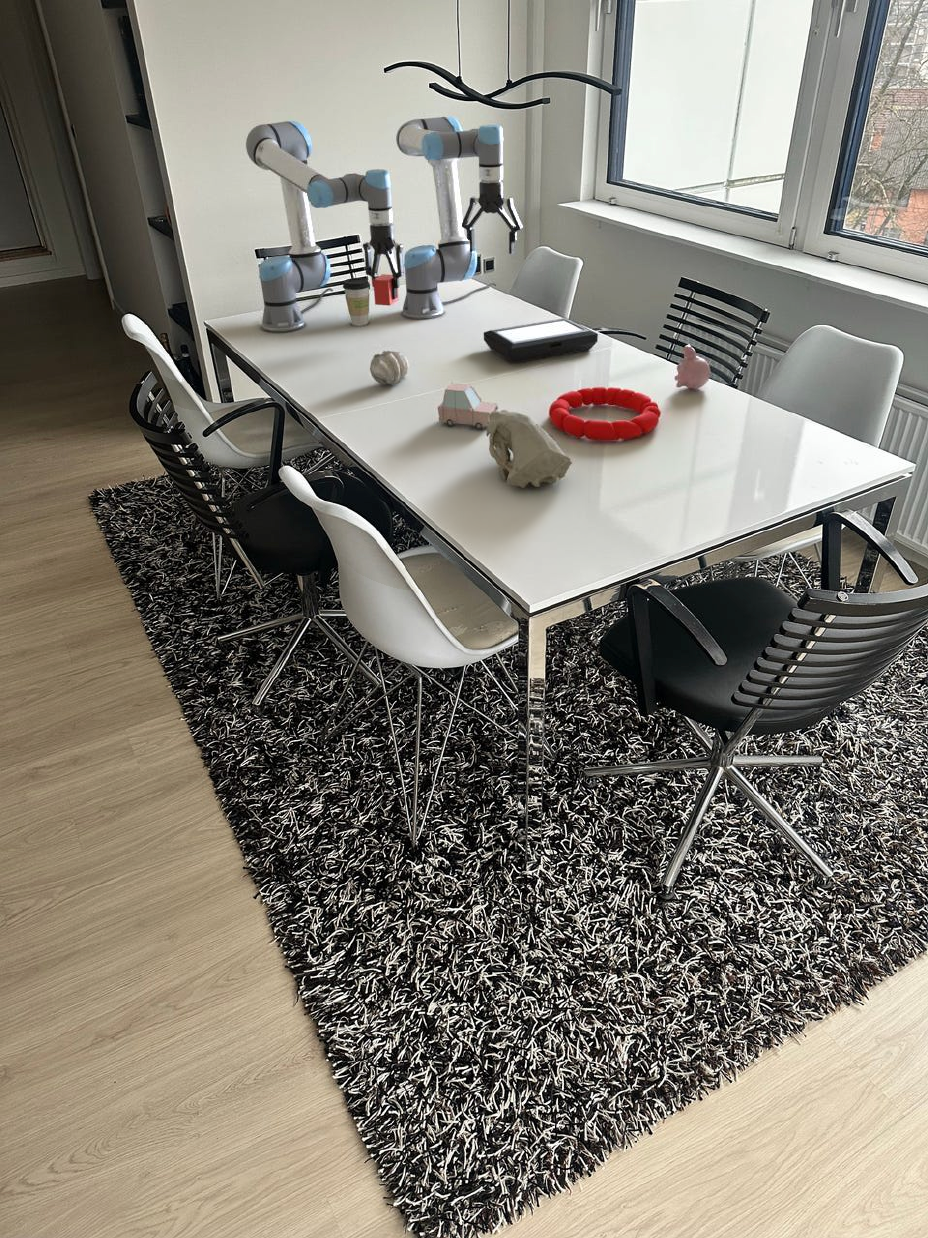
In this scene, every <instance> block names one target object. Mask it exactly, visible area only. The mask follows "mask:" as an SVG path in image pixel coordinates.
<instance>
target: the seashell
mask: <svg viewBox="0 0 928 1238" xmlns="http://www.w3.org/2000/svg"><path fill="white" fill-rule="evenodd" d="M369 371H370V374H371V377H372V378H373V380H374V381H375V382H376V383H378V384H380V385H387V384H389V385H396V384H397V385H398V384H399V383H401V382H402V380H404V378H405V377H406V376H407V375H408V372H409V361H408V359H407V357H406V355H404V354H402V353H400V352H399V351H398V352H397V351H389V350H387V351H385V350H383V351H382V353H376V354H374V355H373V357H372V359H371V361H370V365H369Z"/></svg>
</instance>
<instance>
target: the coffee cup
mask: <svg viewBox="0 0 928 1238" xmlns="http://www.w3.org/2000/svg"><path fill="white" fill-rule="evenodd" d="M370 287H371V283H370V282H369V279H367V278H365V277H351V278H347V279H345V280H344V281H343V285H342V288H343V290H344V297H345V301H346V305H347V310H348V314H349V318H350V323H351V325H353V326H357V327H359V326H365V325H368V324H369V317H370V316H369V313H370Z"/></svg>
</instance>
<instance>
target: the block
mask: <svg viewBox="0 0 928 1238" xmlns="http://www.w3.org/2000/svg"><path fill="white" fill-rule="evenodd" d="M378 276H379V277H377V278H375V279H374V280H373V284H374V287H373V295H374V305H375V306H376V305H377V306H387V307H388V306H389V307H390V306H392V305H394V303H396V302H398V301H399V300H400V296H399V295H400V294H399V288H398V289H397V292H398V297H397V298H396V299H393V296H392V282H391V279H392V278H393V275H392V274H386V273H385V274H384V273H382V274H381V275H378Z"/></svg>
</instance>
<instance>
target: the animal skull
mask: <svg viewBox="0 0 928 1238" xmlns="http://www.w3.org/2000/svg"><path fill="white" fill-rule="evenodd" d="M485 436H486V438H487V437H489V438H488V440H489V444H488V445H489V446H488V450H489V454H490V456H491V457H492V458H493V459H494V460H495V462H496V464H497V466H499V468H500V470H501V471H502V472H501V478H502V479H507V480H506V484H507V486H517V487H518V486H519V488H523V489H524V488H526V486H527V485H529V483H531V485H533V486H534V487H536V488H540V485H541V484H542V482H544V483H549V484H550V485H553V484H555V483H556V482H557V480H561V479H563V478H565V476H566V474H567V472H568V471H569V469H570V467H571V466H572V464H573V462H572V461H571V458H570V457H568V456H567V455H565V453H564V451H562V449H561V448H560V446H559V444H557V443H556V439H555V438H554V436H553V435H551V434H550V433H548V432H547V431H546V430H545V429H544V428H542V427H541V426H539V425H538V424H537V423H536V424H535V422H534V421H533V419H532V418H531V417H530V416H529V415H527V414H524V413H519V412H515V411H509V410H507V409H502V410H500V411H499V410H497V411H496V412H492V413H491V414H490V422H488V423H487V427H486V435H485ZM511 453H512V454H511ZM511 455H512V457H513V458H512V460H511ZM507 474H508V475H507Z"/></svg>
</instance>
